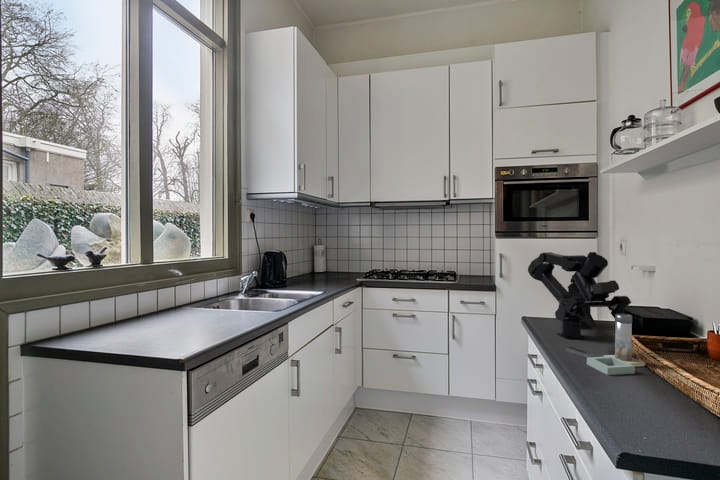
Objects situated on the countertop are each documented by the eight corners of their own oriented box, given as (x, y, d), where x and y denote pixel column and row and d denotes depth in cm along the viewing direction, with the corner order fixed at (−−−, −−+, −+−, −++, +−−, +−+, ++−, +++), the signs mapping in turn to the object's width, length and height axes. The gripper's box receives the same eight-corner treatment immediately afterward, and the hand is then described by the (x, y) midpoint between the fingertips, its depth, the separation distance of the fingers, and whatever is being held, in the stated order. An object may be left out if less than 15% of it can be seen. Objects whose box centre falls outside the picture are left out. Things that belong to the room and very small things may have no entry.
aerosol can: (594, 329, 145) (595, 278, 144) (571, 329, 146) (571, 278, 146) (586, 324, 153) (586, 275, 152) (564, 323, 154) (564, 275, 154)
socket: (586, 364, 109) (586, 357, 109) (612, 362, 110) (612, 356, 110) (607, 375, 101) (607, 367, 101) (634, 373, 102) (634, 366, 102)
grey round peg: (611, 357, 112) (611, 314, 111) (621, 355, 113) (621, 312, 113) (624, 361, 108) (625, 317, 107) (635, 360, 109) (635, 315, 109)
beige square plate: (603, 358, 113) (603, 355, 113) (625, 357, 114) (625, 354, 114) (621, 367, 106) (621, 363, 106) (644, 366, 107) (644, 362, 107)
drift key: (565, 351, 121) (565, 347, 121) (569, 350, 122) (569, 346, 121) (590, 358, 114) (590, 355, 113) (593, 357, 114) (594, 354, 114)
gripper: (570, 272, 120) (592, 315, 109) (627, 271, 120) (654, 313, 110) (556, 291, 128) (575, 333, 118) (609, 290, 129) (633, 331, 118)
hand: (609, 327), depth 116 cm, fingers open, 9 cm apart
